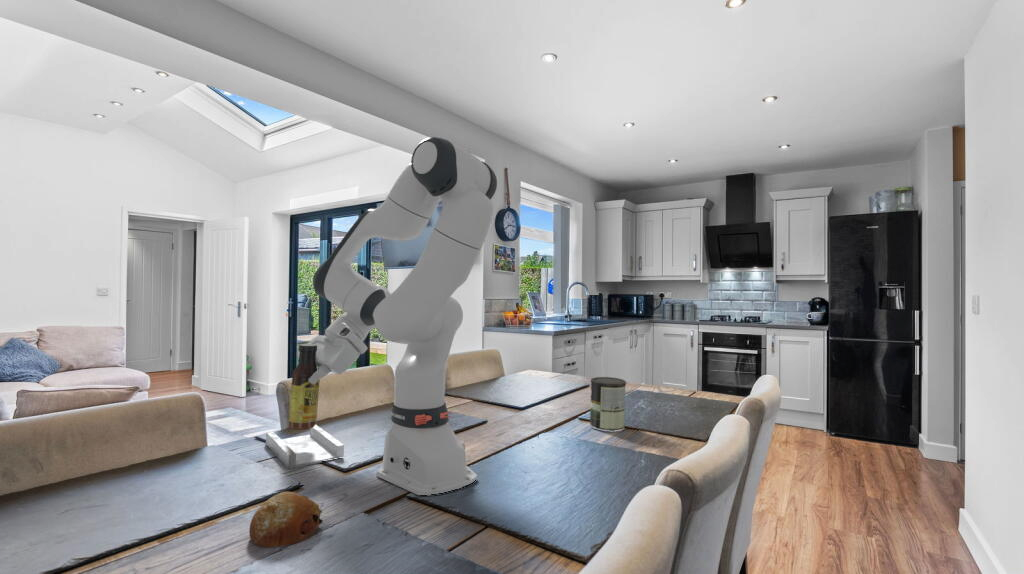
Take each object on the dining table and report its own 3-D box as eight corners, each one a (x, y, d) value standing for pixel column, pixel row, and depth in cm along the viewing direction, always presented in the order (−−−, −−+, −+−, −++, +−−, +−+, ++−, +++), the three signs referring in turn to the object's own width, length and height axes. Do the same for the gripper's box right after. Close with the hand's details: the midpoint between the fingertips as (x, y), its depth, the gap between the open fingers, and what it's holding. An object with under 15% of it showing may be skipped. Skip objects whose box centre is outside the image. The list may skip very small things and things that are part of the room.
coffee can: (583, 427, 140) (584, 380, 140) (598, 420, 149) (600, 375, 149) (616, 434, 134) (617, 385, 134) (630, 427, 143) (631, 380, 143)
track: (343, 457, 110) (343, 444, 110) (288, 469, 102) (288, 455, 102) (315, 435, 125) (316, 424, 125) (265, 444, 118) (266, 432, 118)
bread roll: (277, 538, 81) (258, 496, 81) (334, 512, 82) (315, 470, 82) (251, 572, 72) (229, 525, 71) (315, 542, 72) (293, 495, 72)
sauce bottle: (305, 432, 110) (310, 347, 110) (282, 429, 112) (286, 345, 111) (322, 424, 117) (326, 344, 117) (299, 421, 118) (304, 342, 118)
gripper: (316, 325, 126) (276, 364, 119) (355, 332, 112) (312, 378, 105) (332, 340, 130) (294, 380, 123) (371, 350, 116) (331, 395, 109)
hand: (302, 379), depth 114 cm, fingers closed on sauce bottle, 6 cm apart
